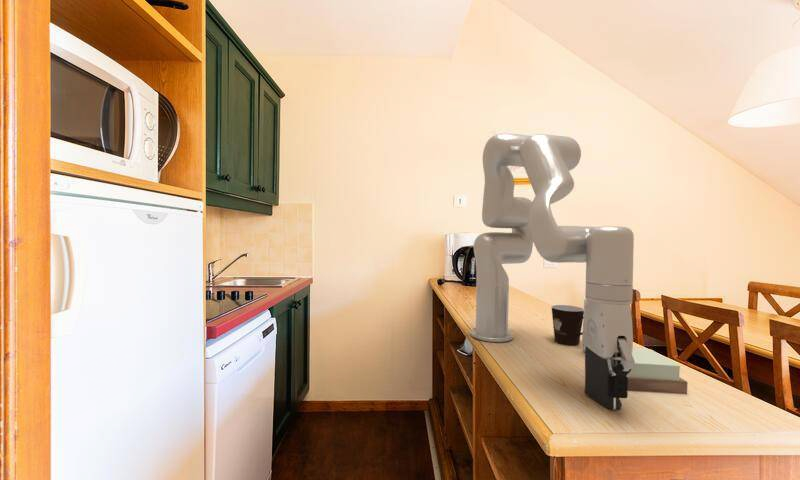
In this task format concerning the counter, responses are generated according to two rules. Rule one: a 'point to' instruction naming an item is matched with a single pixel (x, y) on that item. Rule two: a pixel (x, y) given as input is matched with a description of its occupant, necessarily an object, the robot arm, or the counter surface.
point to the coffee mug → (567, 324)
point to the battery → (599, 379)
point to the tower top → (653, 366)
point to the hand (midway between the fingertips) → (606, 386)
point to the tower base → (657, 385)
